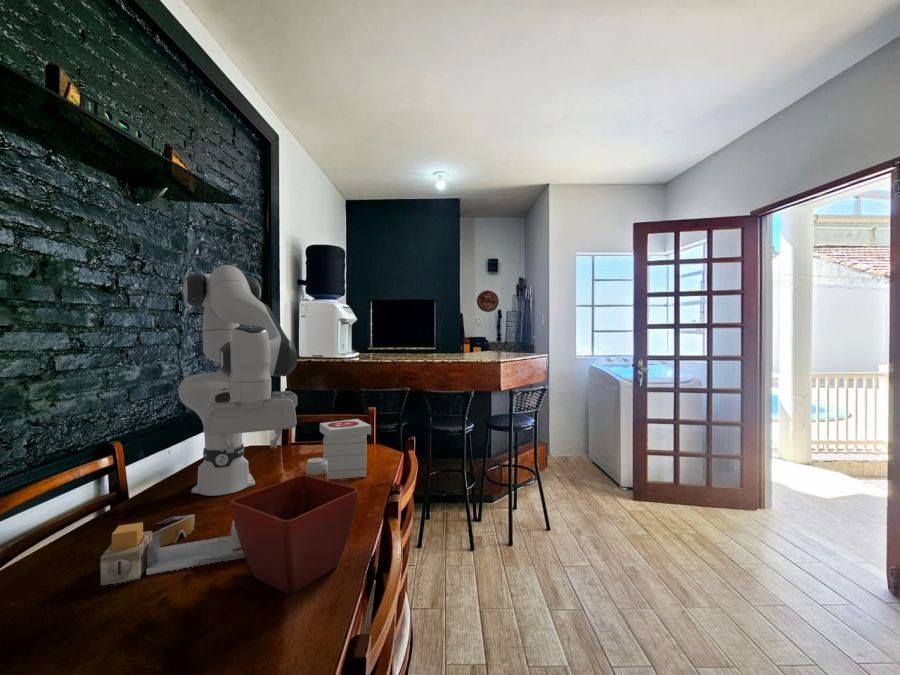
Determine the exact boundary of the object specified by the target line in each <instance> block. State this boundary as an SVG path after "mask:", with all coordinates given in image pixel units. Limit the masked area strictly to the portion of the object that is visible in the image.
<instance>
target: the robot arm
mask: <svg viewBox="0 0 900 675" xmlns="http://www.w3.org/2000/svg"><path fill="white" fill-rule="evenodd" d="M182 292H183V297H184V298H185V300H186V303H188V304H189V306H193V307H196V308H197V307H198V308H202V307H204V310H203V315H202V352H203V354H204V356H205V357H206V358H207V359H209V360H210V361H213V362H215V363H218V364H219V372H207V373H206V372H204V373H199V374H194V375H191V376H186V377H185V378H184V379H183V380H182V381H181V382H180V384H179V387H178V397H179V399H180V402H181V403H182V404H183V405H185V407H187V408H189V409H191V410H192V411H193V412H194V413H196V415H197V416H199V419H200V420H201V422H202V426H203V430H202V432H203V435H204V448H203V452H202V456H203V457H202V458H203V462H202V463H201V464H200V465H199V466H198V469H197V484H196V485H195V486H194V487H192V488H191V493H193V494H200V495H202V496H209V497H210V496H211V497H212V496H223V495H229V494H233V493H236V492H239V491H242V490H244V489H246V488H248V487H252V486H254V485H256V481H255V479H254V477H253V476H252V474H251V471H250V469H249V461H248V460H247V458H245V457H244V455H245V447H244V445H245V444H244V443H243V433H244V434H245V433H256V432H266V431H268V432H269V431H275V437H274V439H271V440H270V439H269V440H270V442H269V444H270V445H269V446H270V447H269V448H270V449H271V450H272V449H277V448H278V440H279V439H280V437H281V435H282V430H289V429H294V428H295V427H296V426H297V423H298V422H297V421H298V420H297V413H296V407H298V404H299V403H298V395H297V394H296V393H295V392H292V390H284V391H283V390H282V391H281V390H277V391H275V390H274V391H272V377H271V376H273V377H286V376H287V375H289V374H290V373H291V372H292V371H293V370H294V369H296V367H297V364H298V354H297V350H296V346H295V345H294V344H293V342H292V341H291V340H290V339H289V338H288V337H287V335H286V333H285V331H284V329H283V328H282V326H281V325H280V323H279V322H278V319H277V318H276V316H275V314H274V313H273V311H272V309H271V308H270V307H269V306H268V304H266V303H264V302H262V301H261V300H260V299H261V295H262V289H261V286H260V282H259V280H258V279H257V277H253V276H251V275H247V274H246V275H245V274H244V272H242V270H241V269H239V268H238V267H237V266H234V265H232V264H231V265H230V264H229V265H228V264H224V265H220V266H217V267H216V268H214V269H213V271H211V273H201V272H199V273H192V274H189V275H188V276H187V277H186V279H185V281H184V282H183V286H182Z"/></svg>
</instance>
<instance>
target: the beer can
mask: <svg viewBox="0 0 900 675" xmlns="http://www.w3.org/2000/svg"><path fill="white" fill-rule="evenodd" d="M305 475H308V476H312V477H315V478H319V479H323V480H327V481H329V480H328V462H327V460H326V458H323V457H321V456H318V457H312V458H309V459H307V460H306V464H305Z"/></svg>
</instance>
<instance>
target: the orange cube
mask: <svg viewBox="0 0 900 675" xmlns="http://www.w3.org/2000/svg"><path fill="white" fill-rule="evenodd" d="M143 532H144V522H143V521H141V522H136V523H135V522H134V523H129V524H121V525H118V526H117V528H115V530H114V531H113V532H112V534H111V544H112V551H113V550H119V549H125V548H131V547H137V546H138V545H139V543H140V542H141V540H142V539H143Z"/></svg>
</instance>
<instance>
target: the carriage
mask: <svg viewBox="0 0 900 675" xmlns="http://www.w3.org/2000/svg"><path fill="white" fill-rule="evenodd" d="M230 536H231V542H232V549H236V548H241V544H240V541H239V538H238V535H237V532H236V528H235V525H234V521H233V520H232V524H231V529H230Z"/></svg>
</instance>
